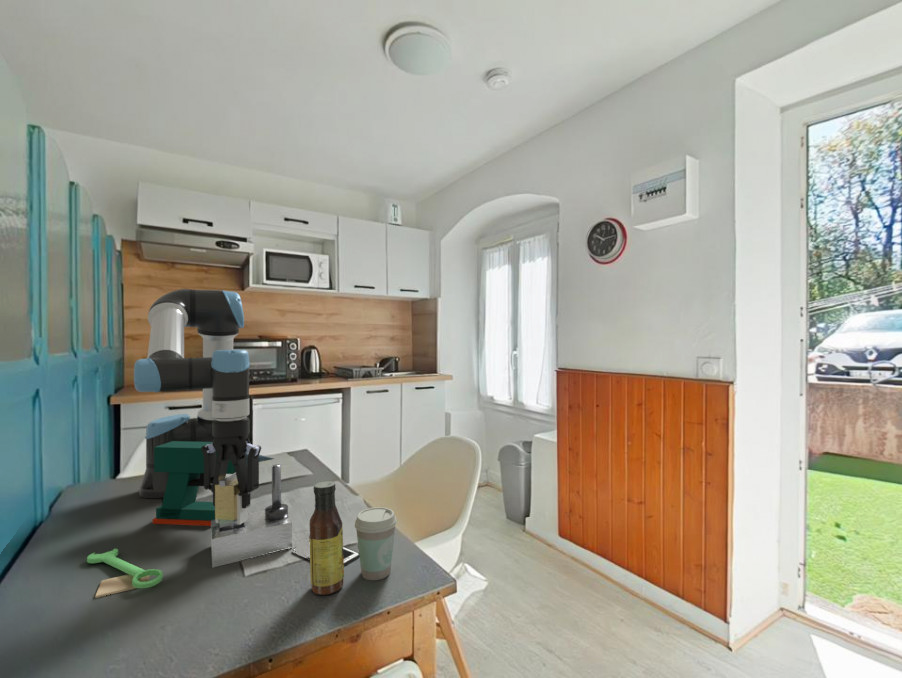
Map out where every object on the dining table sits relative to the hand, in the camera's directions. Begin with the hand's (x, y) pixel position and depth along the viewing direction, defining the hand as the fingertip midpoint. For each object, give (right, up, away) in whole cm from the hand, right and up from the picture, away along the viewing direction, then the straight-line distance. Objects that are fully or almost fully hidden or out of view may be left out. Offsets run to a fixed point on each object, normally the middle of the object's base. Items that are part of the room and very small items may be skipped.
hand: (231, 520), depth 97 cm
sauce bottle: (+26, -7, -14) cm, 30 cm away
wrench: (-18, -7, -8) cm, 21 cm away
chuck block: (+3, -7, +2) cm, 8 cm away
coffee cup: (+34, -7, -9) cm, 36 cm away
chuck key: (0, -3, 0) cm, 3 cm away
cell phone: (+22, -7, -1) cm, 23 cm away
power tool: (-12, -7, +17) cm, 22 cm away
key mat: (-15, -7, -13) cm, 21 cm away
